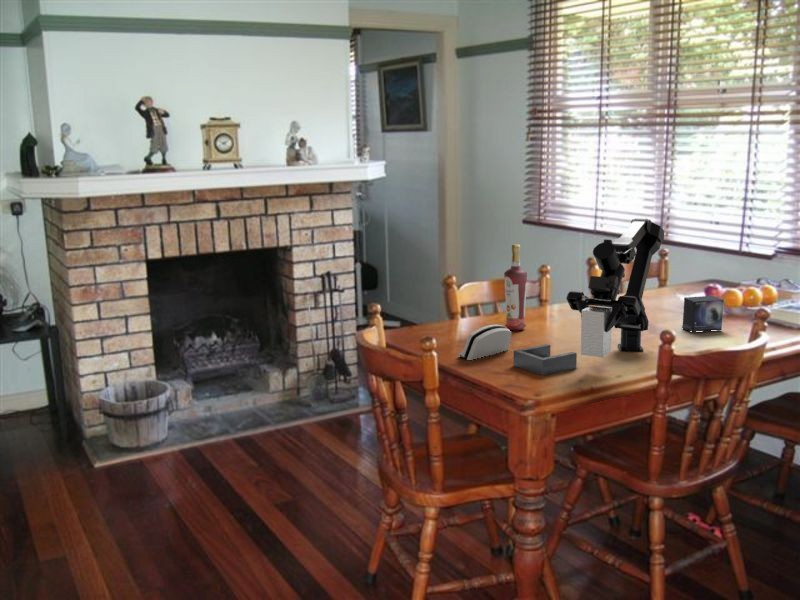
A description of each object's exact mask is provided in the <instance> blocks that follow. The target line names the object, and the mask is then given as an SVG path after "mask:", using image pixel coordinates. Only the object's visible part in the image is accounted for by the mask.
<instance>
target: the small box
mask: <svg viewBox="0 0 800 600" xmlns="http://www.w3.org/2000/svg"><path fill="white" fill-rule="evenodd" d="M723 313H724V299H723V298H720V297H717V296H715V295H706V296H688V297H684V299H683V313H682V327H681V329H682V328H683V330H684V329H686V330H685V331H687V330H689V331H692V332H696V331H711V330H722V329H723V328H722V327H723V316H724V315H723ZM689 331H688V332H689ZM722 331H723V330H722Z"/></svg>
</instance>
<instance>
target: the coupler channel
mask: <svg viewBox="0 0 800 600" xmlns="http://www.w3.org/2000/svg"><path fill="white" fill-rule="evenodd" d="M577 356H578V355H577V352H574V351H570V352H566V353H561V354H556V355H551V344H548V343H545V344H540V345H534V346H530V347H525V348H521V349H520V348H519V349H515V350H513V366H514V367H516V368H519V369H522V370H525V371H527V370H528V372H531V373H533V374H536V373H537V374H536V375H539V374H540V376H542V375H544V376H548V375H551V374H552V373H553V374H556V373H561V372H566V371H570V370H571V371H572V370H575V369H577ZM547 374H548V375H547Z"/></svg>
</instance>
